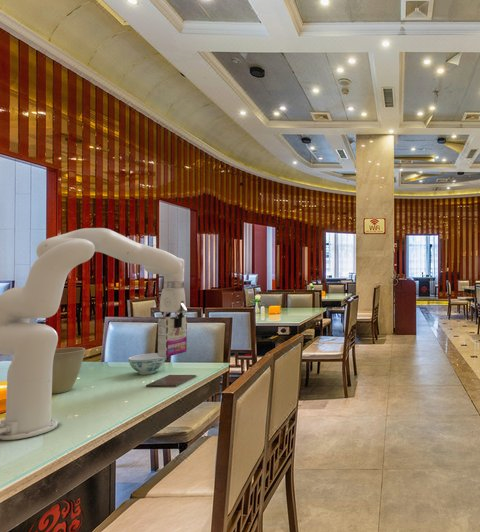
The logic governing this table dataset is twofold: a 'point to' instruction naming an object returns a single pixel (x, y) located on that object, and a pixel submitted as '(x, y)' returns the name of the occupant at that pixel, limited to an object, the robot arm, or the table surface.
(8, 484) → the table surface
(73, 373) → the plant pot
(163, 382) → the plate
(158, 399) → the table surface
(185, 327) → the candy bar box
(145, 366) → the chinaware
